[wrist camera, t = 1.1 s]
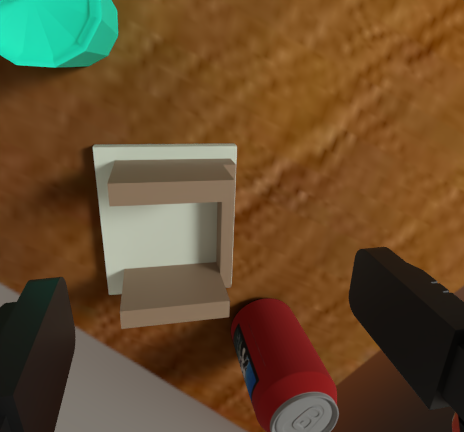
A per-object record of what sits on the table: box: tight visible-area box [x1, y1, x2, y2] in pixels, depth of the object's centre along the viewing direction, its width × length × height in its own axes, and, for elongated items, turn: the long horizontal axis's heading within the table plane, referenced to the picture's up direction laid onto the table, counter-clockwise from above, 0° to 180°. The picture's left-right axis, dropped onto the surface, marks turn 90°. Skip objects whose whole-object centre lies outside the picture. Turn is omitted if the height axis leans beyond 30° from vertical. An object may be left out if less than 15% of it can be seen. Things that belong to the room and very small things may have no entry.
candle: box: [0, 0, 118, 68], centre depth 19 cm, size 6×6×12 cm
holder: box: [93, 144, 237, 329], centre depth 28 cm, size 13×11×7 cm
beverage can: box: [231, 298, 339, 432], centre depth 33 cm, size 7×7×12 cm
